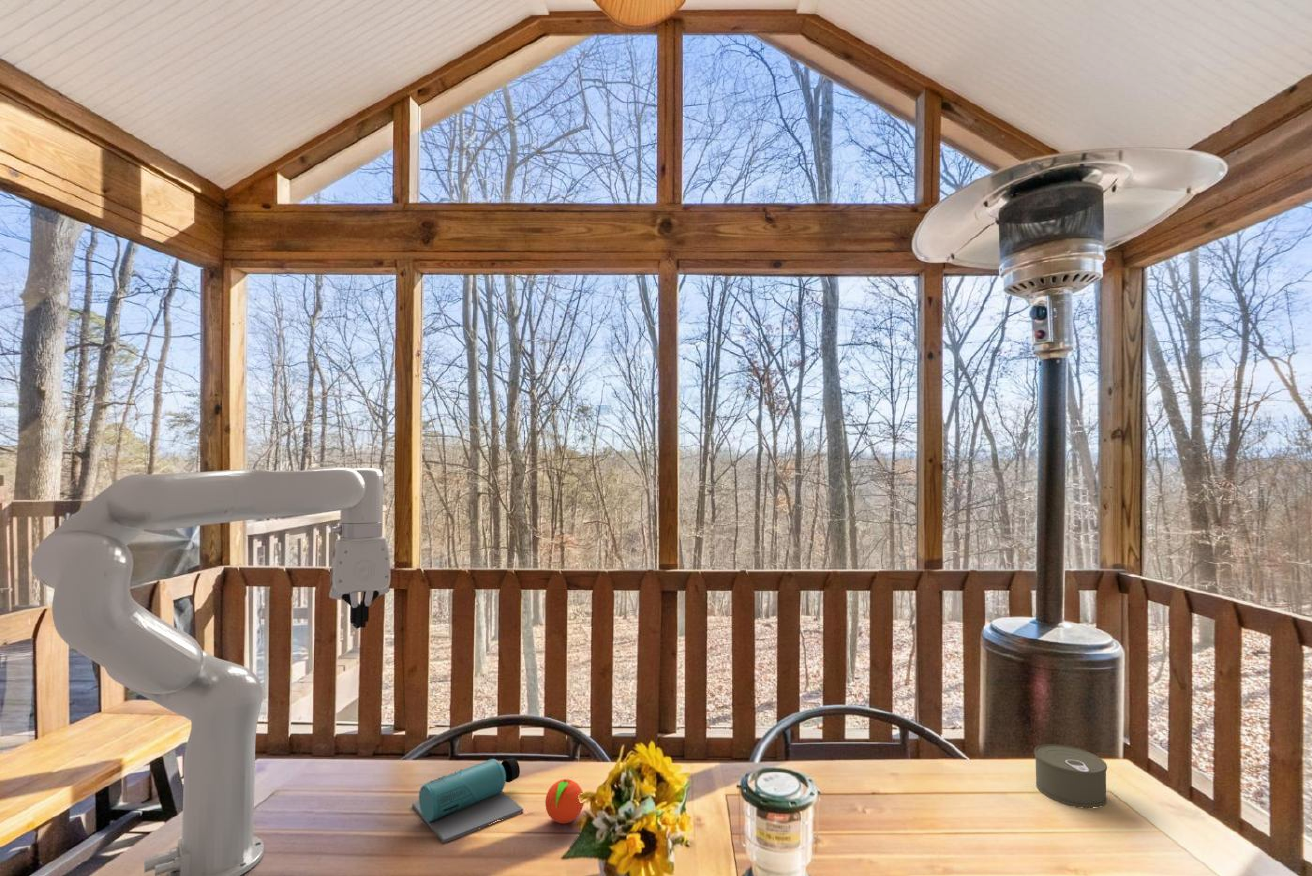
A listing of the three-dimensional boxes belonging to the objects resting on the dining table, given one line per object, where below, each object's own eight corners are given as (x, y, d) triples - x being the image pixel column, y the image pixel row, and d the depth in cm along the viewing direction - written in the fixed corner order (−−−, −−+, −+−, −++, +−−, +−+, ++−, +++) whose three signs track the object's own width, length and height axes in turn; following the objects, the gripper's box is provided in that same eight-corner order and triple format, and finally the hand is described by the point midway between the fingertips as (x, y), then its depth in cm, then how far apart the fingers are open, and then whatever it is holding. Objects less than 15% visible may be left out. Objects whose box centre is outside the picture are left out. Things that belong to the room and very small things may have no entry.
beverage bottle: (429, 819, 110) (529, 779, 124) (419, 780, 113) (517, 745, 127) (416, 831, 114) (514, 790, 128) (406, 793, 117) (503, 757, 131)
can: (1085, 779, 132) (1085, 745, 132) (1121, 811, 120) (1121, 773, 120) (1024, 776, 133) (1023, 742, 133) (1053, 807, 121) (1052, 770, 121)
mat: (443, 843, 109) (443, 839, 109) (412, 806, 120) (412, 803, 120) (523, 812, 118) (523, 808, 118) (487, 780, 130) (487, 777, 130)
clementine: (574, 837, 111) (575, 795, 111) (536, 832, 112) (537, 791, 112) (588, 812, 119) (589, 773, 119) (553, 808, 120) (553, 769, 120)
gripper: (322, 535, 118) (320, 637, 117) (406, 530, 127) (404, 624, 126) (315, 532, 123) (312, 628, 123) (395, 527, 133) (393, 617, 132)
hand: (359, 626), depth 124 cm, fingers closed
